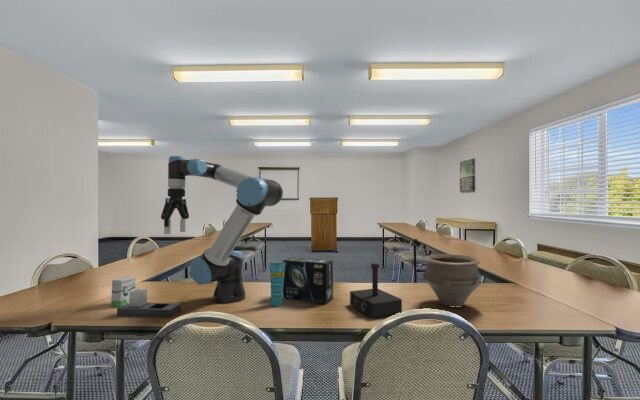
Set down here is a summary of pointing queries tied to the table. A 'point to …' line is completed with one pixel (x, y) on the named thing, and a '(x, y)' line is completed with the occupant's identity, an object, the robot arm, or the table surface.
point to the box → (308, 280)
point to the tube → (277, 282)
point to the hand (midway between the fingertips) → (175, 233)
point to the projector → (375, 299)
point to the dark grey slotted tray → (150, 310)
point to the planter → (452, 277)
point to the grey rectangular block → (138, 298)
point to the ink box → (122, 290)
